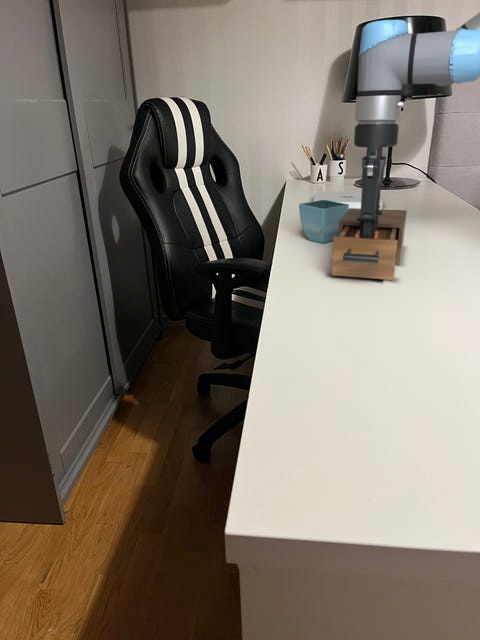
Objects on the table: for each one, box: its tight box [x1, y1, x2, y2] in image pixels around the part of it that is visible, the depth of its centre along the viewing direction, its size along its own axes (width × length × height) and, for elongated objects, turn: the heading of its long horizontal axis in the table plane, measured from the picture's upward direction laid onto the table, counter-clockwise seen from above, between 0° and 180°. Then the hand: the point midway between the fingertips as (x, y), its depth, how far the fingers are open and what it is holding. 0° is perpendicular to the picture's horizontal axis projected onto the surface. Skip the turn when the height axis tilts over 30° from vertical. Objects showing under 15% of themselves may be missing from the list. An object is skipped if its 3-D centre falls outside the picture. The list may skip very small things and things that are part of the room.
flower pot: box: [298, 200, 349, 244], centre depth 122 cm, size 9×9×9 cm
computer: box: [312, 190, 384, 210], centre depth 167 cm, size 22×22×3 cm
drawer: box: [331, 225, 398, 281], centre depth 96 cm, size 19×11×7 cm, turn 161°
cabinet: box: [338, 208, 408, 266], centre depth 108 cm, size 15×13×9 cm
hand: (367, 251), depth 97 cm, fingers closed on block, 4 cm apart
